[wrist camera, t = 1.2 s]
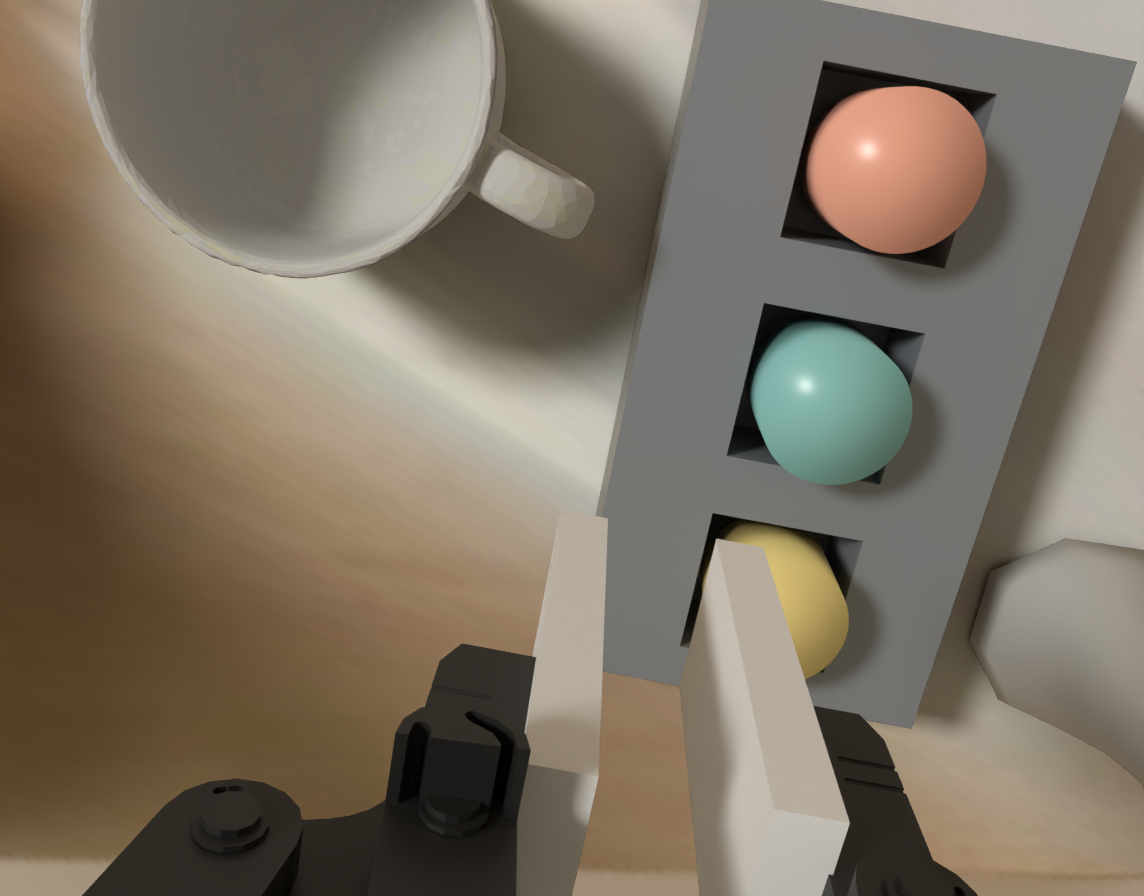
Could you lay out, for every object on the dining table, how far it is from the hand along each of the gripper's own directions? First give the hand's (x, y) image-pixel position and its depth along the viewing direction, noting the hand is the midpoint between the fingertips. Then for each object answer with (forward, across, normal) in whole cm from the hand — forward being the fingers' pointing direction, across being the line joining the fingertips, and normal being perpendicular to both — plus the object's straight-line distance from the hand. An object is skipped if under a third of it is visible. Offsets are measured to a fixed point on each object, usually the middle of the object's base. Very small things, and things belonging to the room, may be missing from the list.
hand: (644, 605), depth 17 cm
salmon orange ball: (+18, +6, +7) cm, 20 cm away
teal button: (+18, +6, 0) cm, 19 cm away
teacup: (+21, -9, +6) cm, 23 cm away
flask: (+21, +18, -8) cm, 29 cm away
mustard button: (+18, +6, -7) cm, 20 cm away
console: (+20, +6, 0) cm, 21 cm away
